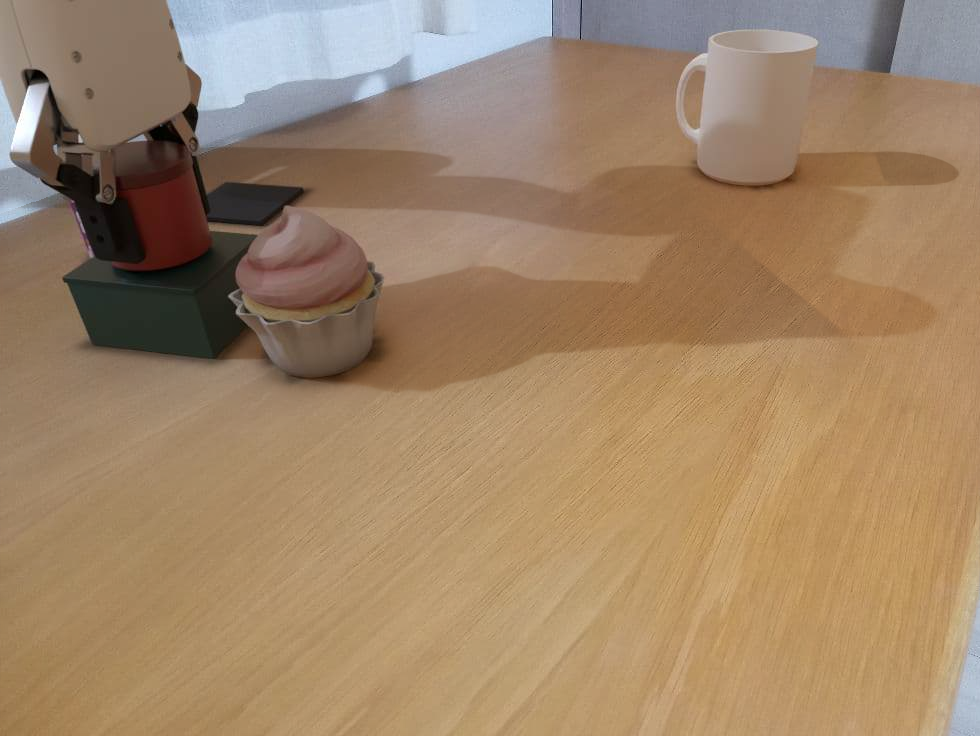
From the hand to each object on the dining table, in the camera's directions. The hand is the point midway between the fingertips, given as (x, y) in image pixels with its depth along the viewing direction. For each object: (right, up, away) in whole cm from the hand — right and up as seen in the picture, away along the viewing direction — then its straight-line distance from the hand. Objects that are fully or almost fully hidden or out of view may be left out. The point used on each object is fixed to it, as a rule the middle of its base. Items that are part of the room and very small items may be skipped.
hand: (156, 233), depth 51 cm
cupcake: (+11, -8, 0) cm, 13 cm away
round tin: (0, -1, +1) cm, 1 cm away
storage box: (0, -5, +4) cm, 6 cm away
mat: (-2, +7, +21) cm, 22 cm away
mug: (+43, +12, +26) cm, 52 cm away
